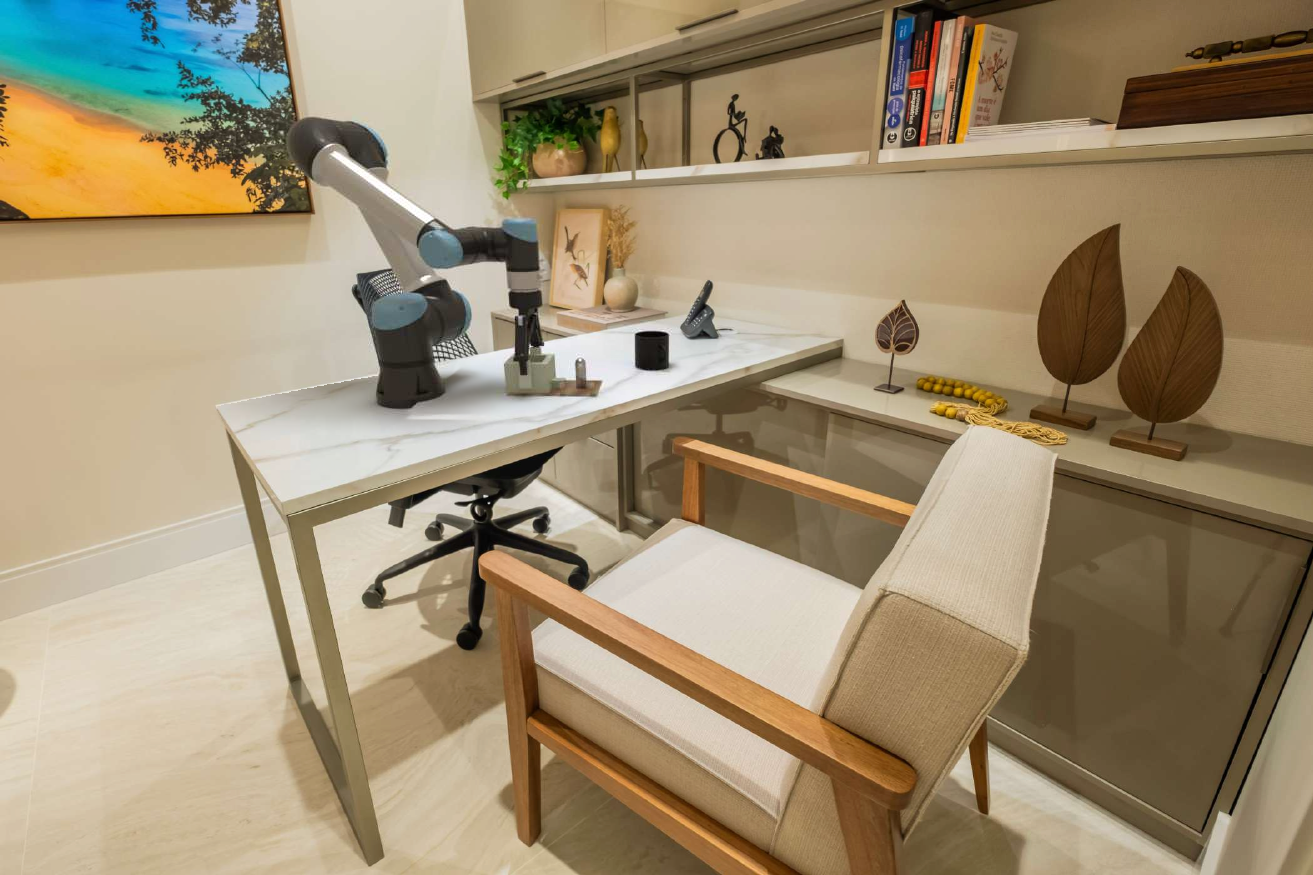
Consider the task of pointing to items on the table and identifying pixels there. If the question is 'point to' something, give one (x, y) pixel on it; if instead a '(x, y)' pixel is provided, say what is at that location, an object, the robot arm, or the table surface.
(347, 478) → the table surface
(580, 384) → the post
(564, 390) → the board
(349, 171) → the robot arm
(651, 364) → the mug
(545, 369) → the sage green storage bin
